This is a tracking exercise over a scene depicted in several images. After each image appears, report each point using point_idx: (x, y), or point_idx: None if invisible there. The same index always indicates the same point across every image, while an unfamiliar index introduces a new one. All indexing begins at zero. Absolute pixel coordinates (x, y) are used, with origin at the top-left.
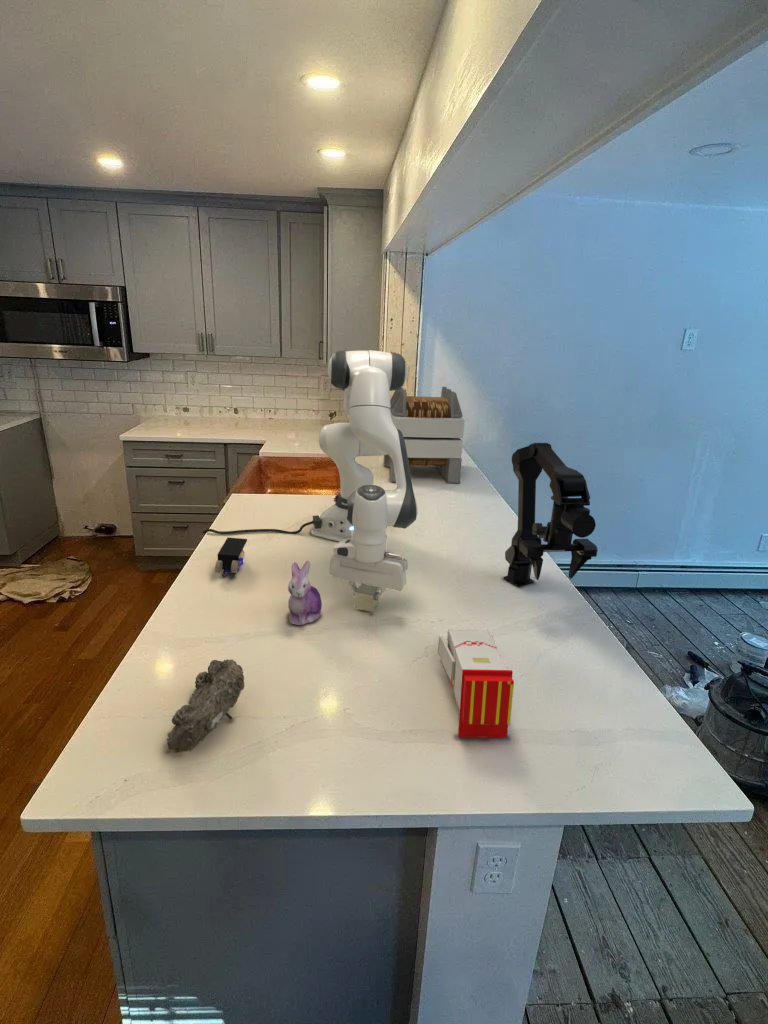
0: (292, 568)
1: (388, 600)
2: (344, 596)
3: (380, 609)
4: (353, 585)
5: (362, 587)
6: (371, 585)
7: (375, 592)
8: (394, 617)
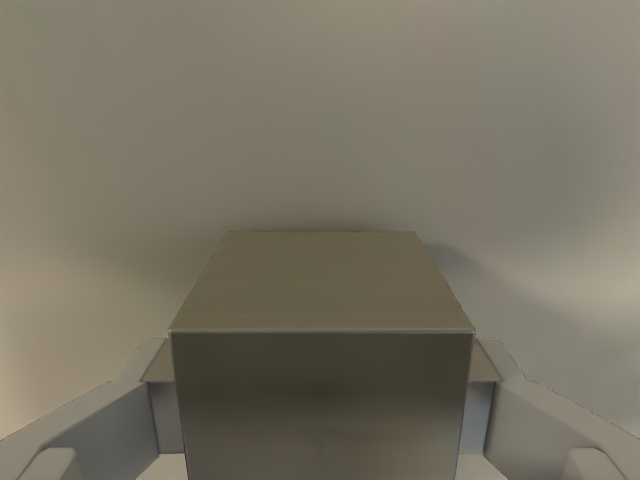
0: None
1: (479, 76)
2: (30, 181)
3: (442, 275)
4: (98, 473)
5: (235, 434)
6: (336, 334)
7: (454, 475)
8: (585, 347)
